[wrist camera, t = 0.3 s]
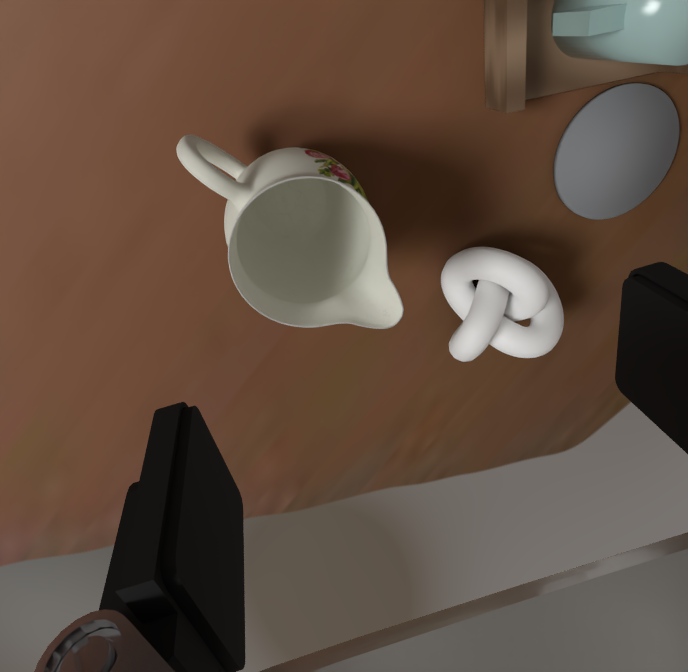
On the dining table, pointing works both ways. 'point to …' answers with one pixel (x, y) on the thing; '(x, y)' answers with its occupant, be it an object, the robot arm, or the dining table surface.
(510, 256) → the white decorative knot
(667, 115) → the mat
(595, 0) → the jug
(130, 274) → the dining table surface
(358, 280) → the pitcher
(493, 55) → the holder
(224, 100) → the dining table surface
